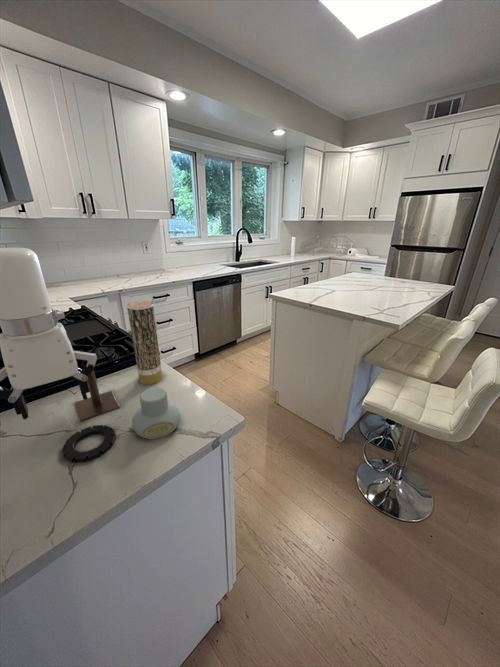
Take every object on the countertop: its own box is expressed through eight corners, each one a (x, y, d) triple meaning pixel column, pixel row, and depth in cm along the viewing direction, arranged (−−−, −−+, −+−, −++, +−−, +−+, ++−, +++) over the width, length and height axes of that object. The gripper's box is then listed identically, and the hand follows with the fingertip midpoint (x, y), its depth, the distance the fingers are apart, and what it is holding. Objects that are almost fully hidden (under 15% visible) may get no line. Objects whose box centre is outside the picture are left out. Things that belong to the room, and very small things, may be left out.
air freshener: (134, 447, 62) (127, 410, 58) (133, 423, 69) (127, 389, 65) (184, 434, 65) (180, 399, 62) (178, 413, 72) (175, 380, 69)
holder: (82, 425, 68) (69, 381, 63) (76, 406, 75) (65, 365, 70) (120, 411, 73) (112, 369, 68) (112, 394, 80) (104, 356, 75)
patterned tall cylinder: (161, 374, 91) (152, 300, 81) (163, 384, 85) (153, 306, 75) (139, 377, 88) (127, 302, 79) (140, 389, 82) (126, 308, 73)
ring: (68, 474, 55) (65, 467, 54) (62, 444, 62) (60, 437, 61) (121, 451, 60) (119, 444, 60) (110, 425, 68) (109, 419, 67)
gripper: (83, 308, 55) (101, 382, 62) (-37, 328, 45) (0, 413, 52) (89, 318, 50) (109, 398, 56) (-45, 343, 40) (-3, 435, 46)
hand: (56, 405), depth 54 cm, fingers open, 9 cm apart
